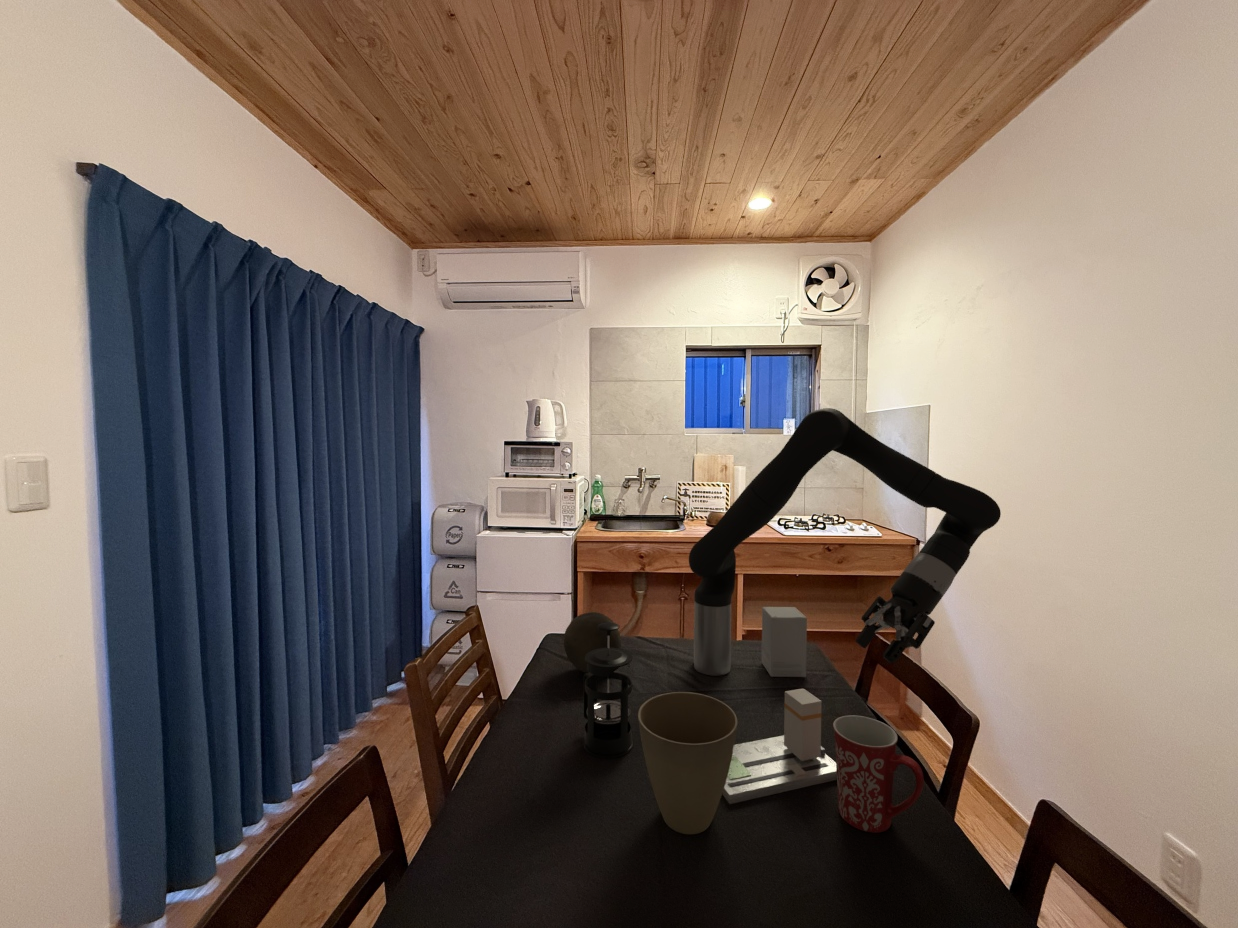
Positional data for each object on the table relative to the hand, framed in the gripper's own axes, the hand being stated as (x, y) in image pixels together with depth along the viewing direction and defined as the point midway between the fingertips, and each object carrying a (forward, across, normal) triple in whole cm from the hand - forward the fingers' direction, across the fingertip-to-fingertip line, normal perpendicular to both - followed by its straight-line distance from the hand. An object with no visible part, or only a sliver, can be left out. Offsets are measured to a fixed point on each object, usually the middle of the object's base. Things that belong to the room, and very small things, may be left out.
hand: (872, 652), depth 95 cm
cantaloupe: (+44, -39, -28) cm, 65 cm away
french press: (+45, -9, -26) cm, 53 cm away
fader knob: (+22, +1, -1) cm, 22 cm away
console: (+28, +2, -4) cm, 28 cm away
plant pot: (+40, +12, -17) cm, 45 cm away
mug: (+22, +16, +5) cm, 28 cm away
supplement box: (+14, -37, +9) cm, 40 cm away
